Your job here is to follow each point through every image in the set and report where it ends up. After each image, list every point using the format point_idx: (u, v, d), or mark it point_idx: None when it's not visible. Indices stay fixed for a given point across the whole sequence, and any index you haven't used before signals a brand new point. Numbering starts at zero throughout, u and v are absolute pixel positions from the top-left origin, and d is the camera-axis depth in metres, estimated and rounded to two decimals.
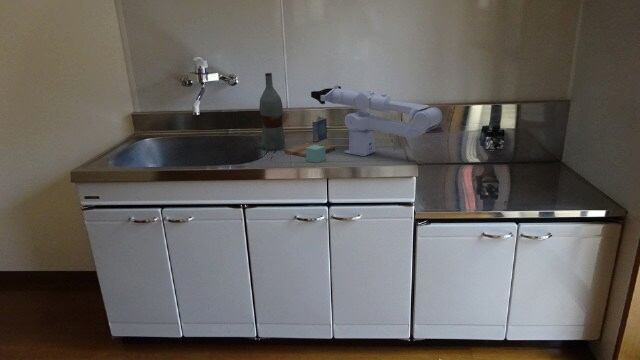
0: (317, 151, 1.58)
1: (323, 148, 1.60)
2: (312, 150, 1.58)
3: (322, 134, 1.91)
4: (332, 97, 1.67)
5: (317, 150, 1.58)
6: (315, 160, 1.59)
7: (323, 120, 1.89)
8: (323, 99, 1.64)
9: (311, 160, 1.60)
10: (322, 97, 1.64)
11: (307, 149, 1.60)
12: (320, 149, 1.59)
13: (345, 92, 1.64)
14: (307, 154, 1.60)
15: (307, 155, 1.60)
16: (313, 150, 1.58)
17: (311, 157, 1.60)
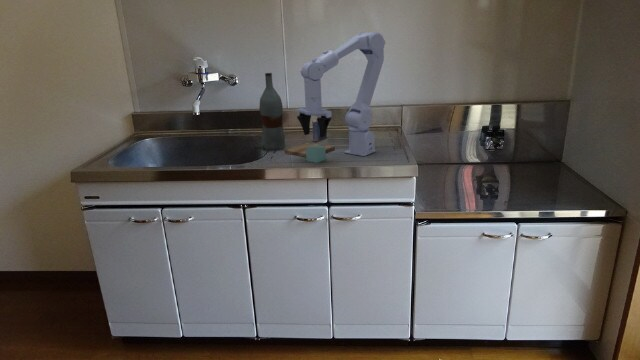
0: (317, 151, 1.58)
1: (323, 148, 1.60)
2: (312, 150, 1.58)
3: None
4: (320, 109, 1.54)
5: (317, 150, 1.58)
6: (315, 160, 1.59)
7: None
8: (330, 113, 1.52)
9: (311, 160, 1.60)
10: (329, 114, 1.51)
11: (307, 149, 1.60)
12: (320, 149, 1.59)
13: (309, 95, 1.52)
14: (307, 154, 1.60)
15: (307, 155, 1.60)
16: (313, 150, 1.58)
17: (311, 157, 1.60)
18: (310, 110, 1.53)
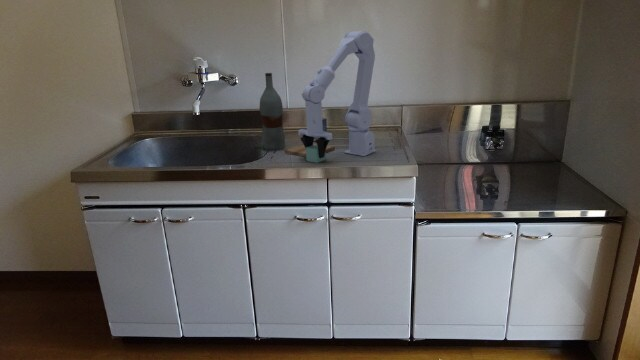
0: (317, 151, 1.58)
1: None
2: (312, 150, 1.58)
3: None
4: (321, 131, 1.57)
5: (317, 150, 1.57)
6: (315, 160, 1.59)
7: (323, 120, 1.89)
8: (331, 135, 1.54)
9: (311, 160, 1.60)
10: (330, 136, 1.54)
11: (307, 149, 1.60)
12: None
13: (310, 118, 1.54)
14: (307, 154, 1.60)
15: (307, 155, 1.60)
16: (313, 150, 1.58)
17: (311, 157, 1.60)
18: (311, 132, 1.56)
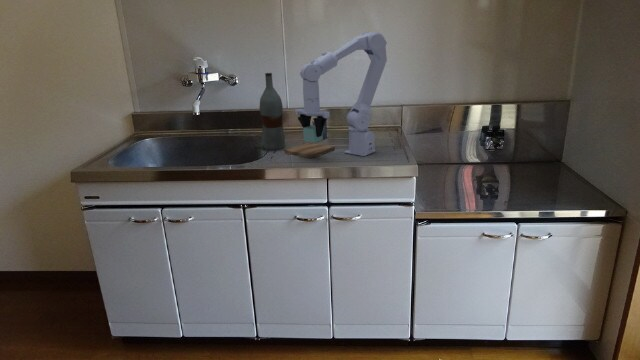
0: (314, 131, 1.59)
1: None
2: (309, 130, 1.59)
3: None
4: (318, 110, 1.58)
5: (314, 130, 1.59)
6: (312, 140, 1.60)
7: None
8: (328, 113, 1.56)
9: (308, 140, 1.61)
10: (327, 115, 1.55)
11: (304, 129, 1.61)
12: None
13: (306, 96, 1.56)
14: (304, 134, 1.61)
15: (304, 135, 1.61)
16: (310, 130, 1.59)
17: (308, 137, 1.61)
18: (308, 111, 1.57)
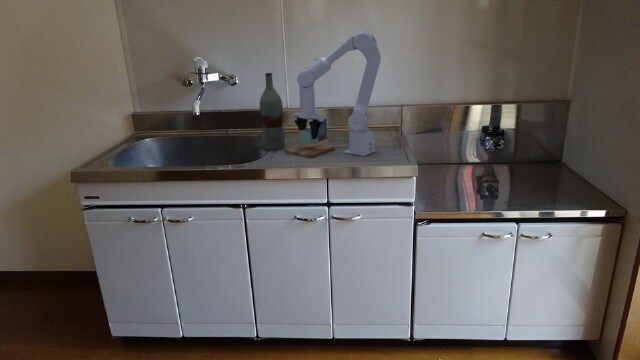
0: (310, 133, 1.68)
1: None
2: (305, 132, 1.69)
3: (322, 134, 1.91)
4: (313, 114, 1.67)
5: (310, 132, 1.68)
6: (308, 142, 1.69)
7: None
8: (323, 117, 1.65)
9: (304, 142, 1.70)
10: (322, 118, 1.65)
11: (300, 132, 1.70)
12: None
13: (300, 100, 1.66)
14: (300, 137, 1.71)
15: (300, 137, 1.71)
16: (306, 132, 1.68)
17: (304, 140, 1.70)
18: (304, 114, 1.66)
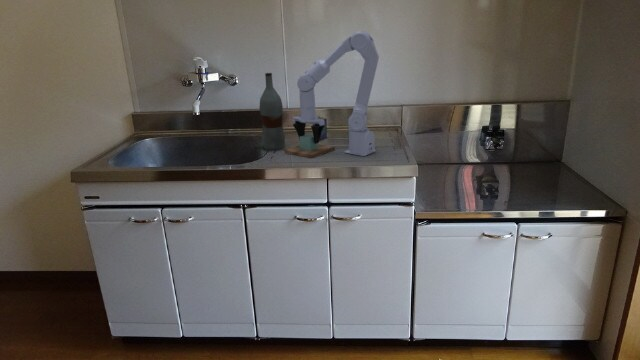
0: (310, 140, 1.69)
1: None
2: (305, 139, 1.69)
3: (322, 134, 1.91)
4: (314, 118, 1.68)
5: (310, 139, 1.69)
6: (308, 148, 1.70)
7: None
8: (323, 121, 1.65)
9: (304, 148, 1.71)
10: (322, 122, 1.65)
11: (301, 138, 1.71)
12: (313, 138, 1.70)
13: (300, 104, 1.67)
14: (301, 143, 1.72)
15: (301, 143, 1.72)
16: (306, 139, 1.69)
17: (304, 146, 1.71)
18: (305, 118, 1.67)
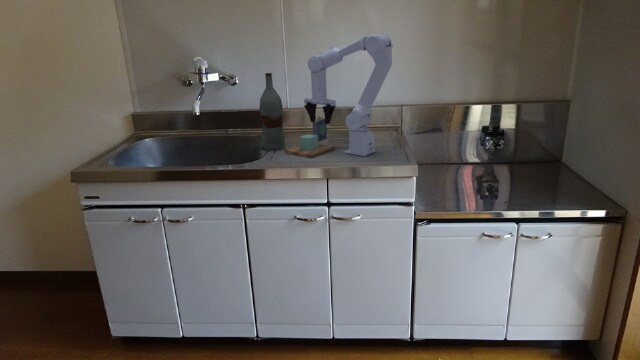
0: (310, 140, 1.69)
1: (316, 137, 1.71)
2: (305, 139, 1.69)
3: (322, 134, 1.91)
4: (325, 98, 1.69)
5: (310, 139, 1.69)
6: (308, 148, 1.70)
7: (323, 120, 1.89)
8: (334, 101, 1.67)
9: (304, 148, 1.71)
10: (333, 103, 1.67)
11: (301, 138, 1.71)
12: (313, 138, 1.70)
13: None
14: (301, 143, 1.72)
15: (301, 143, 1.72)
16: (306, 139, 1.69)
17: (304, 146, 1.71)
18: (316, 99, 1.68)
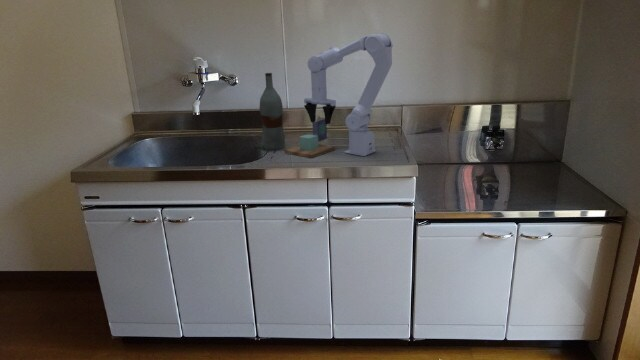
0: (310, 140, 1.69)
1: (316, 137, 1.71)
2: (305, 139, 1.69)
3: (322, 134, 1.91)
4: (325, 98, 1.69)
5: (310, 139, 1.69)
6: (308, 148, 1.70)
7: (323, 120, 1.89)
8: (334, 101, 1.67)
9: (304, 148, 1.71)
10: (333, 103, 1.67)
11: (301, 138, 1.71)
12: (313, 138, 1.70)
13: None
14: (301, 143, 1.72)
15: (301, 143, 1.72)
16: (306, 139, 1.69)
17: (304, 146, 1.71)
18: (316, 99, 1.68)
